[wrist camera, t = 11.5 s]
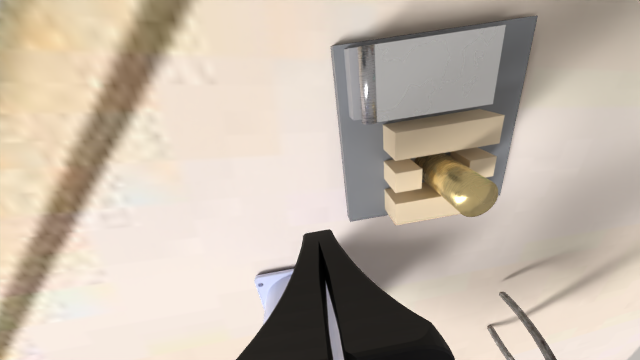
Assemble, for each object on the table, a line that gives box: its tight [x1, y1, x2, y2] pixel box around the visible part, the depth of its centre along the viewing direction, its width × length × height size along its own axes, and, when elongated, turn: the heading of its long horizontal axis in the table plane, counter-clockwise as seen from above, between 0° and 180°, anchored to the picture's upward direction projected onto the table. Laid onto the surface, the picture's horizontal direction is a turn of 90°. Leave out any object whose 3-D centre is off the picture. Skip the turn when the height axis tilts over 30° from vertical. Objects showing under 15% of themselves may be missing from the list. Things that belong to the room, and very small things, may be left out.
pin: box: [414, 153, 498, 217], centre depth 18 cm, size 3×3×6 cm
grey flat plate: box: [357, 25, 506, 124], centre depth 15 cm, size 4×8×1 cm, turn 98°
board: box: [331, 16, 537, 226], centre depth 19 cm, size 14×14×4 cm
